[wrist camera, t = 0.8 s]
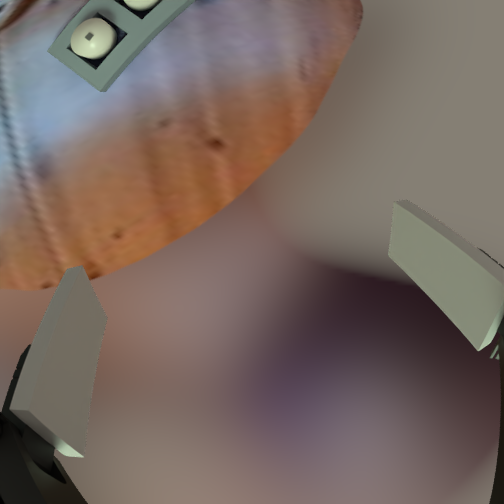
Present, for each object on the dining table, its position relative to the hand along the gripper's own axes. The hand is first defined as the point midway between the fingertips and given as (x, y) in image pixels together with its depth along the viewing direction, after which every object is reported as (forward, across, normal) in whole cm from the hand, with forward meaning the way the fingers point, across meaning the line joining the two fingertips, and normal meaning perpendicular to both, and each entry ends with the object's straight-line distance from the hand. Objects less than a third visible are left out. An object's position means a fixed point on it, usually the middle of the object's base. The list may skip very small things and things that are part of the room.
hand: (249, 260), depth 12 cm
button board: (+25, -4, +20) cm, 32 cm away
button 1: (+23, -10, +15) cm, 30 cm away
